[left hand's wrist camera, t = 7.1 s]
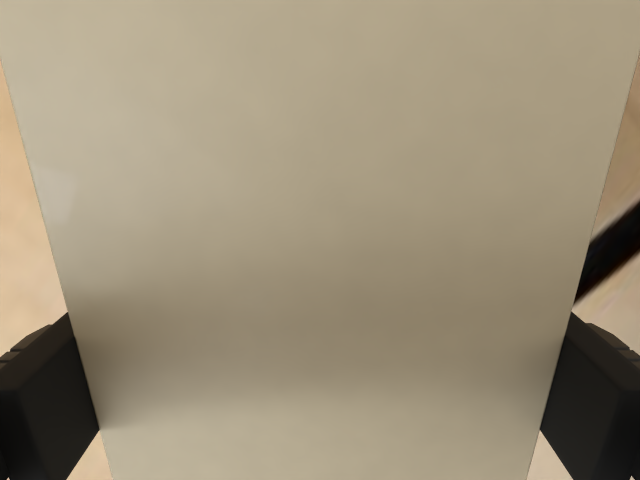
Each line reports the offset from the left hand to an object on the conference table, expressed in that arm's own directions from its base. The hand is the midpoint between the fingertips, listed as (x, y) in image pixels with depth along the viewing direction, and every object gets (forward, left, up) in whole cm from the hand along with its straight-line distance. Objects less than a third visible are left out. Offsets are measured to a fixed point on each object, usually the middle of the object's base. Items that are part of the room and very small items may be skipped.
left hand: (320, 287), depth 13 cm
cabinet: (+5, -1, -6) cm, 8 cm away
